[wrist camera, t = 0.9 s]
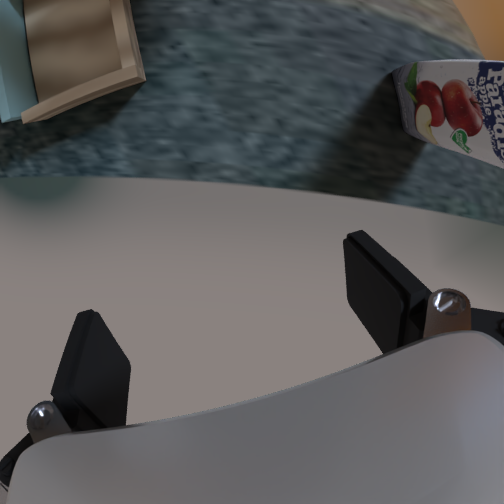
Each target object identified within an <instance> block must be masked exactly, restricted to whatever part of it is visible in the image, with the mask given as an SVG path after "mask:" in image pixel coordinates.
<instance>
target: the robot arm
mask: <svg viewBox="0 0 504 504" xmlns="http://www.w3.org/2000/svg"><path fill="white" fill-rule="evenodd" d="M343 248H344V258H345V273H346V285H347V286H346V287H347V299H348V303H349V305H350V306H351V308H352V309H353V311H354V312H355V314H356V315H357V316H358V318H359V319H360V321H361V322H362V324H363V325H364V326H365V328H366V329H367V331H368V332H369V334H370V335H371V337H372V338H373V339H374V341H375V342H376V344H377V345H378V347H379V348H380V350H381V351H382V353H383V354H382V355H380V356H378V357H375V358H373V359H370V360H367V361H365V362H362V363H359V364H357V365H354V366H351V367H349V368H346V369H344V370H341V371H338V372H335V373H333V374H330V375H327V376H324V377H321V378H318V379H316V380H313V381H310V382H307V383H304V384H301V385H297V386H294V387H291V388H288V389H285V390H281V391H278V392H275V393H272V394H268V395H265V396H261V397H258V398H254V399H250V400H247V401H243V402H239V403H236V404H231V405H227V406H223V407H219V408H216V409H211V410H207V411H202V412H198V413H193V414H188V415H183V416H178V417H173V418H168V419H162V420H157V421H151V422H145V423H139V424H132V425H126V414H127V402H128V392H129V382H130V373H131V365H130V362H129V360H128V358H127V357H126V355H125V354H124V352H123V351H122V349H121V348H120V346H119V345H118V343H117V342H116V340H115V338H114V337H113V335H112V334H111V332H110V330H109V329H108V327H107V326H106V324H105V322H104V321H103V319H102V317H101V316H100V314H99V313H98V312H94V311H93V310H92V309H90V310H86V311H83V312H79V313H78V314H77V316H76V319H75V321H74V324H73V327H72V330H71V332H70V335H69V338H68V341H67V343H66V346H65V349H64V352H63V355H62V358H61V361H60V364H59V367H58V371H57V374H56V377H55V380H54V384H53V387H52V390H51V395H52V396H53V397H54V398H53V401H52V402H51V401H43V402H40V403H38V404H37V405H35V406H34V407H33V408H32V409H31V411H30V413H29V415H28V417H27V428H28V431H29V433H28V434H27V435H26V436H25V437H24V438H23V439H22V440H21V441H20V442H19V443H18V444H17V445H16V446H15V447H14V448H13V449H11V450H10V451H9V452H8V453H7V454H6V455H5V456H4V457H3V459H2V460H1V461H0V504H504V313H503V312H496V311H490V310H483V309H477V308H471V304H470V301H469V299H468V297H467V296H466V295H465V294H464V293H462V292H460V291H458V290H455V289H450V288H444V289H439V290H437V291H435V292H433V293H432V292H431V291H430V290H429V289H428V288H427V287H426V286H425V285H424V284H423V283H422V282H421V281H420V280H419V279H417V277H415V276H414V275H413V274H412V273H411V272H410V271H409V270H408V269H407V268H406V267H405V266H404V265H403V264H401V263H400V262H399V261H398V260H397V259H396V258H394V257H393V256H391V254H389V253H388V252H387V251H386V250H385V249H384V248H383V247H382V246H380V245H379V244H378V243H377V242H376V241H375V240H374V239H372V238H371V237H370V236H369V235H368V234H367V233H366V232H364V231H363V230H359V231H356V232H353V233H349V234H348V235H347V238H346V239H344V240H343Z"/></svg>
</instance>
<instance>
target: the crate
mask: <svg viewBox="0 0 504 504" xmlns="http://www.w3.org/2000/svg"><path fill="white" fill-rule="evenodd" d="M24 13H25V23H26V31H27V39H28V46H29V53H30V59H31V65H32V71H33V76H34V81H35V86H36V91H37V96H38V100H39V104H37V105H35V106H33V107H31V108H29V109H27V110H25V111H24V112H22V113H21V117H22V121H23V124H25V123H30V122H35V121H40V120H46V119H48V118H51V117H53V116H55V115H57V114H59V113H62V112H64V111H66V110H68V109H71V108H73V107H75V106H78V105H80V104H83V103H85V102H88V101H90V100H93V99H95V98H98V97H101V96H103V95H106V94H109V93H111V92H114V91H117V90H120V89H123V88H126V87H129V86H132V85H135V84H138V83H141V82H144V81H146V77H145V73H144V68H143V64H142V59H141V55H140V50H139V45H138V41H137V36H136V31H135V26H134V21H133V16H132V11H131V5H130V0H24Z"/></svg>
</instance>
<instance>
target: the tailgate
mask: <svg viewBox="0 0 504 504" xmlns="http://www.w3.org/2000/svg"><path fill="white" fill-rule="evenodd" d="M37 104H38V101H37V97H36V92H35V87H34V83H33V77H32V72H31V67H30V61H29V55H28V48H27V41H26V33H25V25H24V15H23V2H22V0H0V117H1V121H2V123H4V122H9V121H14V120H19V119H22V117H21V113H22V112H24V111H25V110H27V109H29V108H31V107H33V106H35V105H37Z"/></svg>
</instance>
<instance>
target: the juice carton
mask: <svg viewBox="0 0 504 504" xmlns="http://www.w3.org/2000/svg"><path fill="white" fill-rule="evenodd" d="M392 77H393V81H394V85H395V89H396V93H397V97H398V101H399V107H400V114H401V121H402V126H403V130H404V132H406V133H407V134H409V135H411V136H414V137H416V138H418V139H420V140H422V141H425V142H428V143H431V144H434V145H437V146H440V147H444V148H447V149H450V150H453V151H456V152H459V153H462V154H465V155H468V156H471V157H474V158H477V159H479V160H482V161H485V162H488V163H490V164H493V165H496V166H498V167H501V168H503V169H504V61H490V60H436V61H420V62H413V63H409V64H407V65H404V66H402V67H400V68H398V69H396V70H394V71H392Z"/></svg>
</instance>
